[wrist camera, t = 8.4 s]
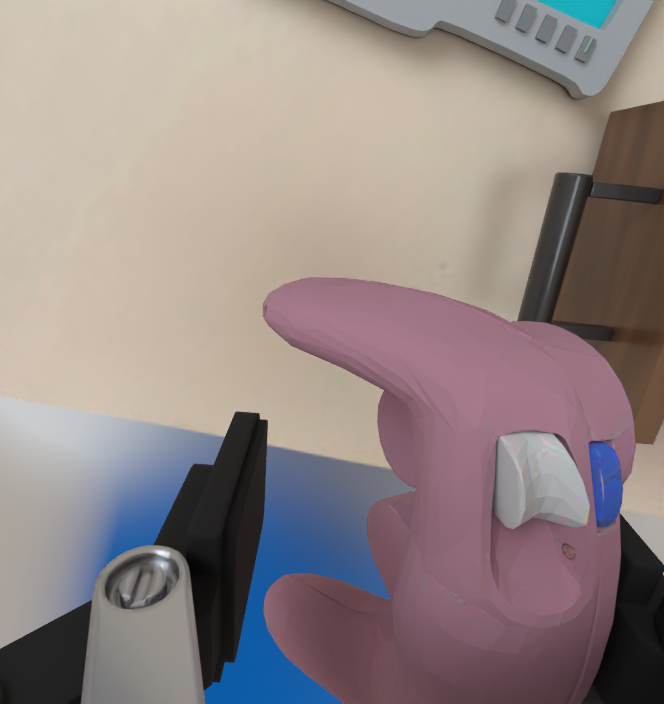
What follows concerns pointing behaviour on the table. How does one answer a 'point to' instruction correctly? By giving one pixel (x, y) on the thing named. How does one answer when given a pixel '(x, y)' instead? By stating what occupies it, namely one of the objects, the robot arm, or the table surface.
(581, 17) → the office telephone
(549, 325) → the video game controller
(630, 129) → the drawer
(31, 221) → the table surface
